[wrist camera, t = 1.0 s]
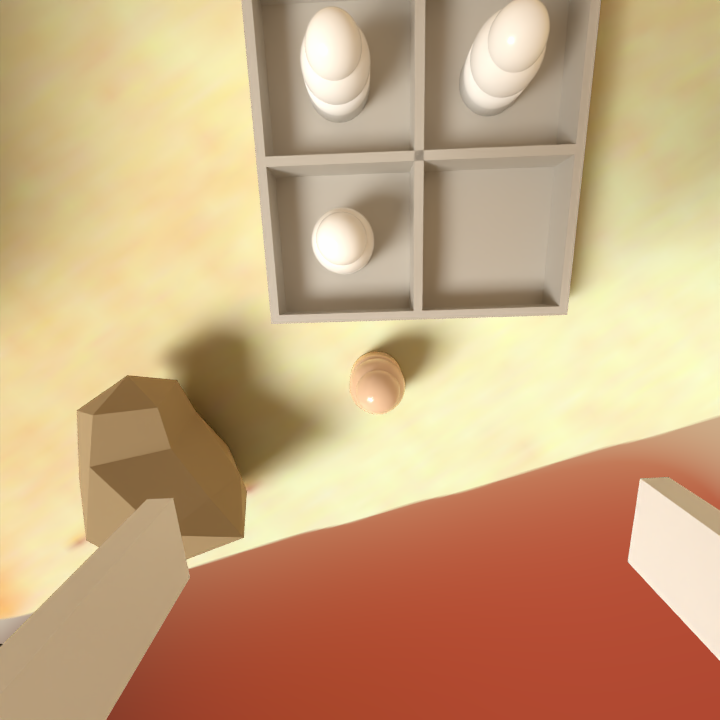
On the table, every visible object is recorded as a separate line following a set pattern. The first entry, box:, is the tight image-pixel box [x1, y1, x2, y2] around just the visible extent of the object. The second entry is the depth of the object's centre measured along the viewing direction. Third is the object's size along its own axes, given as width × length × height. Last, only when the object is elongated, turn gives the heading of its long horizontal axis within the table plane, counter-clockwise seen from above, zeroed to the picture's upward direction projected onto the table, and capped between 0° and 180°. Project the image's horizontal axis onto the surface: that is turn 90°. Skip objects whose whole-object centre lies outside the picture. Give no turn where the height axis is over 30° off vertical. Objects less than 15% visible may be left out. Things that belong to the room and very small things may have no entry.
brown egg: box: [350, 352, 405, 414], centre depth 26 cm, size 4×4×6 cm
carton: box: [242, 0, 601, 324], centre depth 23 cm, size 21×21×3 cm
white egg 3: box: [459, 0, 550, 116], centre depth 20 cm, size 4×4×6 cm
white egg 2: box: [311, 207, 374, 274], centre depth 23 cm, size 4×4×6 cm
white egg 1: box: [300, 6, 370, 123], centre depth 20 cm, size 4×4×6 cm
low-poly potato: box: [77, 375, 247, 559], centre depth 25 cm, size 15×11×12 cm
